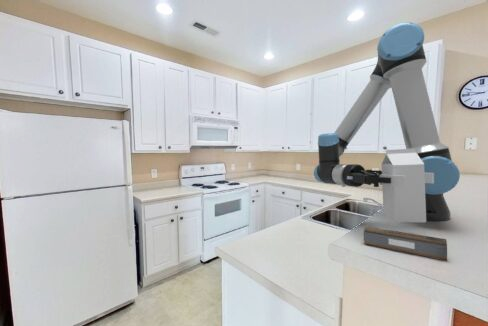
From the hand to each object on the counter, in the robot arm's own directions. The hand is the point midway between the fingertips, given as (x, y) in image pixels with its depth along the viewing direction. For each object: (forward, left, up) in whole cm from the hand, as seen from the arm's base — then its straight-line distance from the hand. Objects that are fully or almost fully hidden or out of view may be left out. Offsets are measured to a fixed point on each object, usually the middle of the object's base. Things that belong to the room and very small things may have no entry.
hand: (419, 179), depth 55 cm
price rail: (+6, 0, -17) cm, 18 cm away
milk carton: (0, -4, -11) cm, 12 cm away
